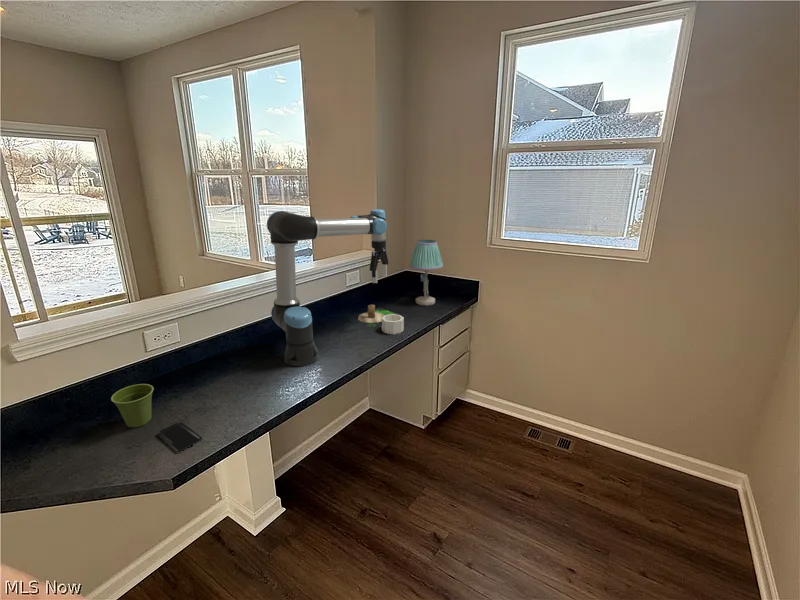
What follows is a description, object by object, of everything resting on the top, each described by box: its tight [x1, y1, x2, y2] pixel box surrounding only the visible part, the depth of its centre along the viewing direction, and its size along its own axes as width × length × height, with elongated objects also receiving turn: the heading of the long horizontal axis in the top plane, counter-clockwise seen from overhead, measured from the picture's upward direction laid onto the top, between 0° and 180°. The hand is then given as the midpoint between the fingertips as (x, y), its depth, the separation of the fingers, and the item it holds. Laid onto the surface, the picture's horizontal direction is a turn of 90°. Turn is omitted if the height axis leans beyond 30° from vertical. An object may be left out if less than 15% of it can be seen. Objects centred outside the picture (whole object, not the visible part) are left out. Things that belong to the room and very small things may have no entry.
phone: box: [156, 421, 203, 453], centre depth 124 cm, size 8×1×15 cm
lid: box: [358, 304, 384, 324], centre depth 223 cm, size 16×16×8 cm
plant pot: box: [110, 383, 155, 428], centre depth 130 cm, size 12×12×11 cm
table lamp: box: [408, 239, 444, 306], centre depth 245 cm, size 22×22×40 cm
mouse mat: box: [351, 307, 404, 328], centre depth 225 cm, size 27×22×1 cm
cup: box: [381, 314, 405, 335], centre depth 207 cm, size 11×11×7 cm
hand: (379, 279), depth 207 cm, fingers open, 13 cm apart
